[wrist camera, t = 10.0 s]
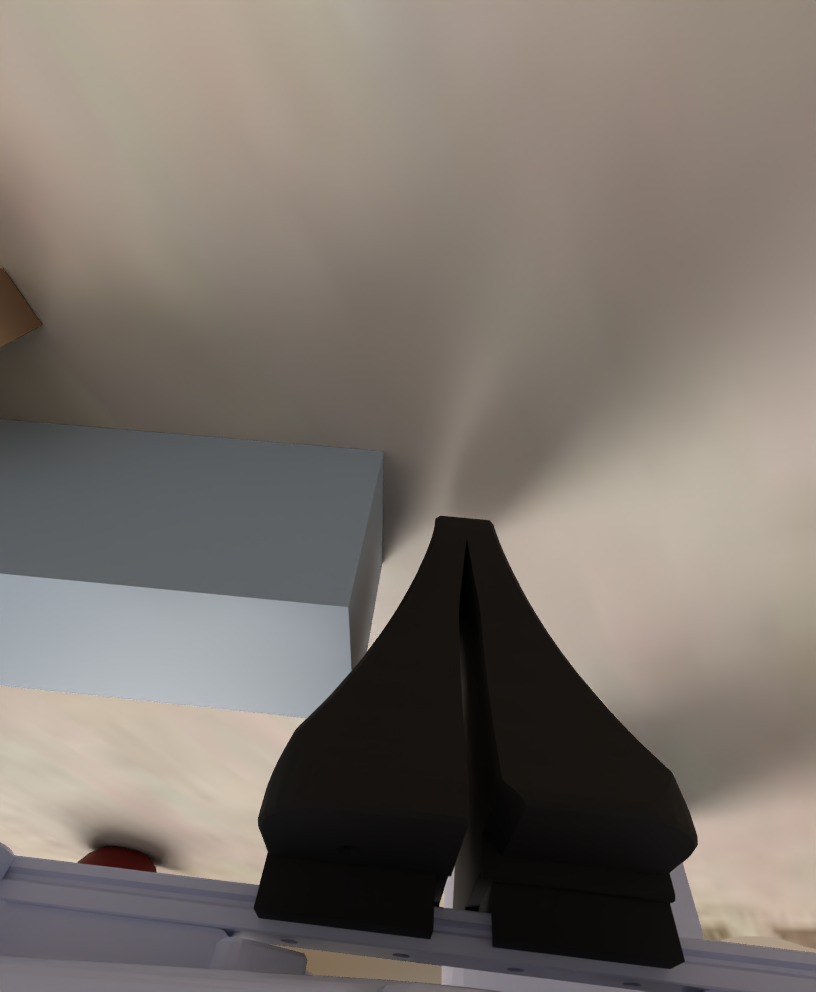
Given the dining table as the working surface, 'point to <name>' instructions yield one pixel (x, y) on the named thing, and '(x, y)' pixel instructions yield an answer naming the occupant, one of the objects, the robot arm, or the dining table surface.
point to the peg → (185, 566)
